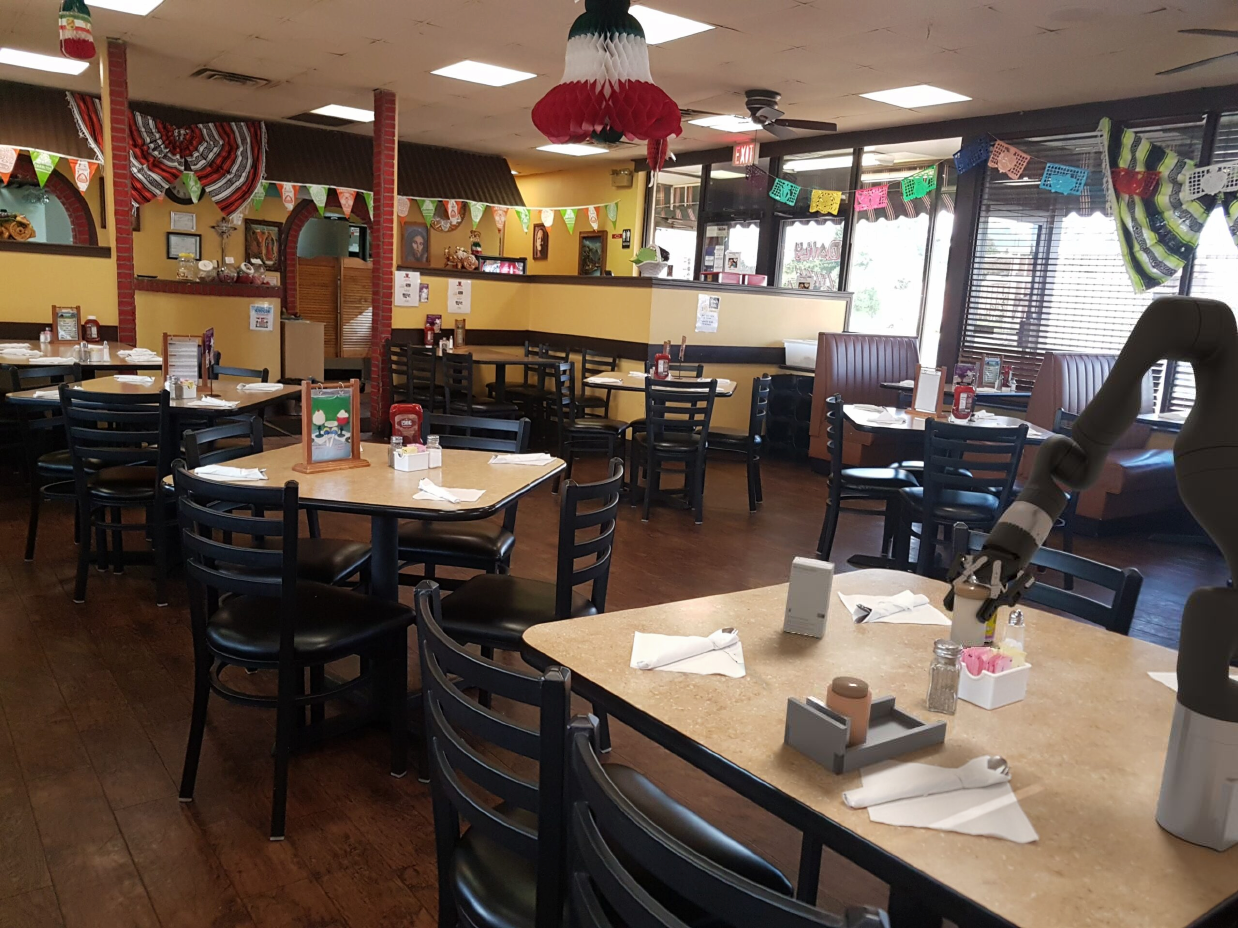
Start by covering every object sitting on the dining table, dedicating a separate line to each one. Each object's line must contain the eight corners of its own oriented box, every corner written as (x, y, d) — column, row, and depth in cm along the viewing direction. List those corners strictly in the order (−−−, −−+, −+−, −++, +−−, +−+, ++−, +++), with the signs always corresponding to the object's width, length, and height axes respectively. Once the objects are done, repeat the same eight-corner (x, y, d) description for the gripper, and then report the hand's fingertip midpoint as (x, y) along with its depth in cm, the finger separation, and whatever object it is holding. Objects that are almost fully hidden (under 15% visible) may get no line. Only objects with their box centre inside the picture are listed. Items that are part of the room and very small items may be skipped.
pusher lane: (943, 746, 142) (949, 698, 141) (836, 781, 130) (842, 728, 128) (888, 717, 151) (893, 671, 150) (783, 747, 139) (787, 697, 137)
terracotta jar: (874, 752, 137) (882, 687, 135) (844, 762, 133) (851, 695, 132) (843, 734, 142) (849, 671, 140) (812, 743, 139) (819, 679, 137)
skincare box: (782, 632, 188) (789, 562, 185) (787, 623, 194) (794, 554, 191) (824, 639, 185) (831, 568, 183) (828, 630, 191) (835, 560, 188)
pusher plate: (846, 763, 132) (851, 717, 131) (836, 766, 131) (841, 720, 130) (807, 739, 139) (811, 695, 138) (797, 742, 138) (801, 698, 137)
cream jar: (992, 643, 149) (999, 590, 147) (970, 649, 146) (977, 594, 144) (963, 632, 153) (969, 580, 152) (941, 637, 150) (947, 584, 149)
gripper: (972, 511, 156) (917, 587, 152) (1050, 530, 144) (993, 614, 140) (988, 539, 160) (935, 614, 155) (1066, 560, 148) (1010, 642, 143)
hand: (963, 613), depth 148 cm, fingers closed on cream jar, 5 cm apart
